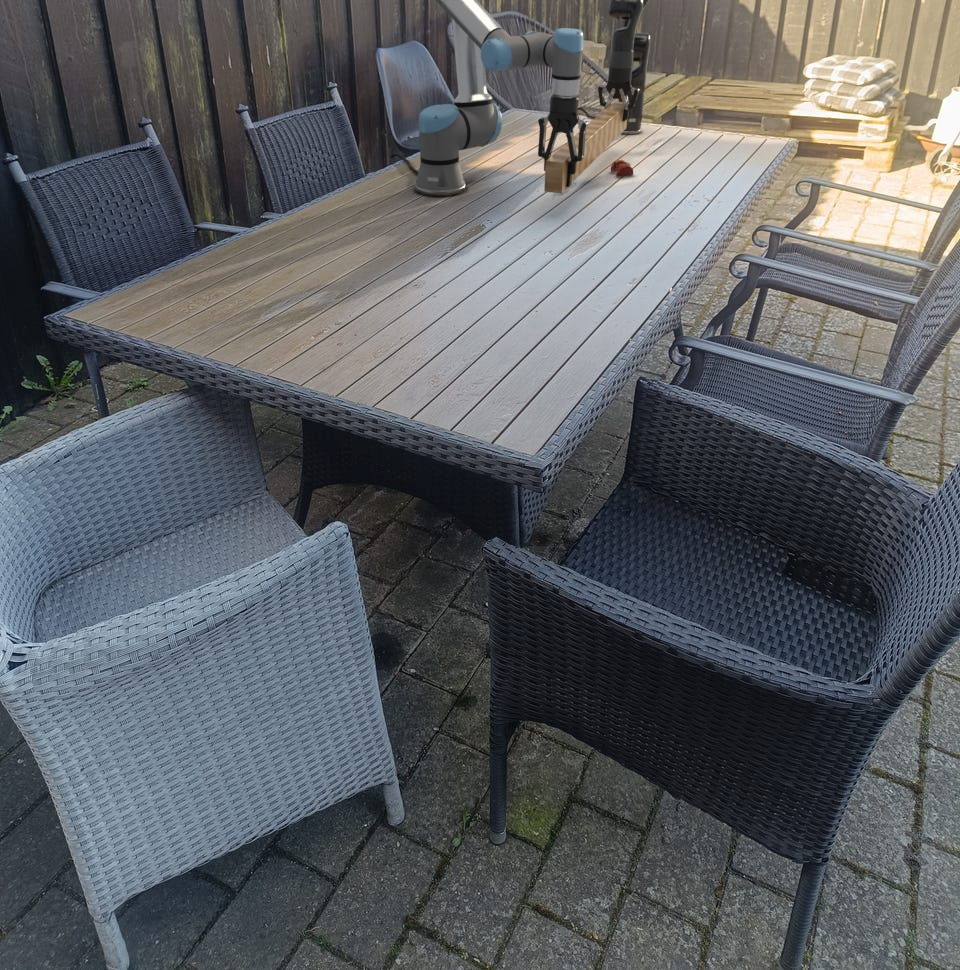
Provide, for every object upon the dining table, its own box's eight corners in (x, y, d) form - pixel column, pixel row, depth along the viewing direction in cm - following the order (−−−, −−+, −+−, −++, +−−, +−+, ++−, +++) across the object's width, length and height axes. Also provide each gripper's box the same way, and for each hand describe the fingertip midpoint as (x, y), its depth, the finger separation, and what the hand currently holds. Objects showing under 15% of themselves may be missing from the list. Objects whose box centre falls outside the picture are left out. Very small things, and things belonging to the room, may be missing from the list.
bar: (561, 193, 232) (563, 162, 227) (544, 191, 233) (545, 160, 228) (626, 128, 291) (628, 102, 286) (612, 127, 292) (614, 101, 287)
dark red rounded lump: (625, 156, 273) (635, 163, 267) (625, 169, 276) (634, 176, 269) (609, 158, 272) (618, 165, 266) (608, 171, 275) (618, 178, 268)
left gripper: (601, 95, 223) (593, 184, 237) (536, 89, 228) (532, 177, 242) (595, 101, 217) (587, 192, 231) (528, 95, 222) (524, 184, 236)
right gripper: (645, 64, 275) (639, 119, 285) (602, 61, 279) (597, 116, 289) (640, 68, 270) (634, 124, 280) (596, 65, 274) (592, 121, 284)
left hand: (559, 184), depth 236 cm, fingers closed on bar, 5 cm apart
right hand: (616, 120), depth 285 cm, fingers closed on bar, 5 cm apart
